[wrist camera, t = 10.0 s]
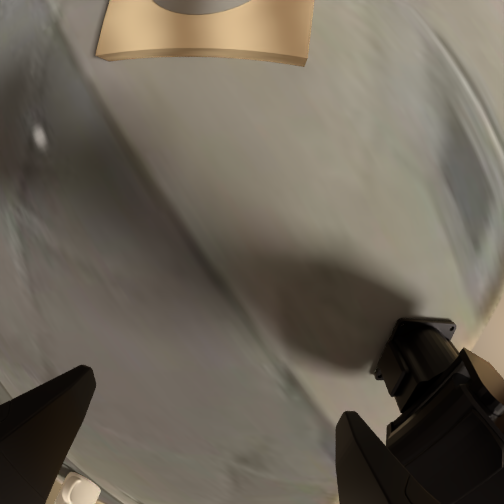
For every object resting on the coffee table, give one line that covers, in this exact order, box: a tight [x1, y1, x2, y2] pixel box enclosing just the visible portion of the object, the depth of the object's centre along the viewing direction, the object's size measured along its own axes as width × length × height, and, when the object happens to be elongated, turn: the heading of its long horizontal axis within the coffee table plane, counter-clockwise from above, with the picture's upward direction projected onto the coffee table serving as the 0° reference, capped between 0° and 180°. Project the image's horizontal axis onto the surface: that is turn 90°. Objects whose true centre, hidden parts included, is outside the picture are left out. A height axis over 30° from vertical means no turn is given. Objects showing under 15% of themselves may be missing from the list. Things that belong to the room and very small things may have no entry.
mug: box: [54, 472, 101, 504], centre depth 36 cm, size 12×9×8 cm
